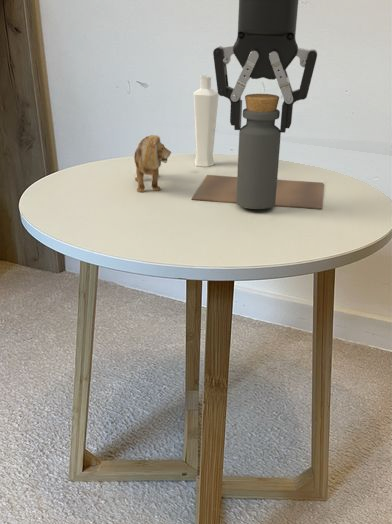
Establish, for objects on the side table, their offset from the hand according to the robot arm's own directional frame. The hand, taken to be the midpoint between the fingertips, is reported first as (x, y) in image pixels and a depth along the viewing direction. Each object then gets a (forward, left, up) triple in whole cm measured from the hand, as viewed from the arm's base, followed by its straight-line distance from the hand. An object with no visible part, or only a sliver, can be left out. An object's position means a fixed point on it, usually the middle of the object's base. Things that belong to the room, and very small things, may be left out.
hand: (260, 129), depth 84 cm
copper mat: (0, -9, -11) cm, 14 cm away
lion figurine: (+18, -8, -11) cm, 23 cm away
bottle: (0, 0, -11) cm, 11 cm away
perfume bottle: (+12, -24, -11) cm, 29 cm away
